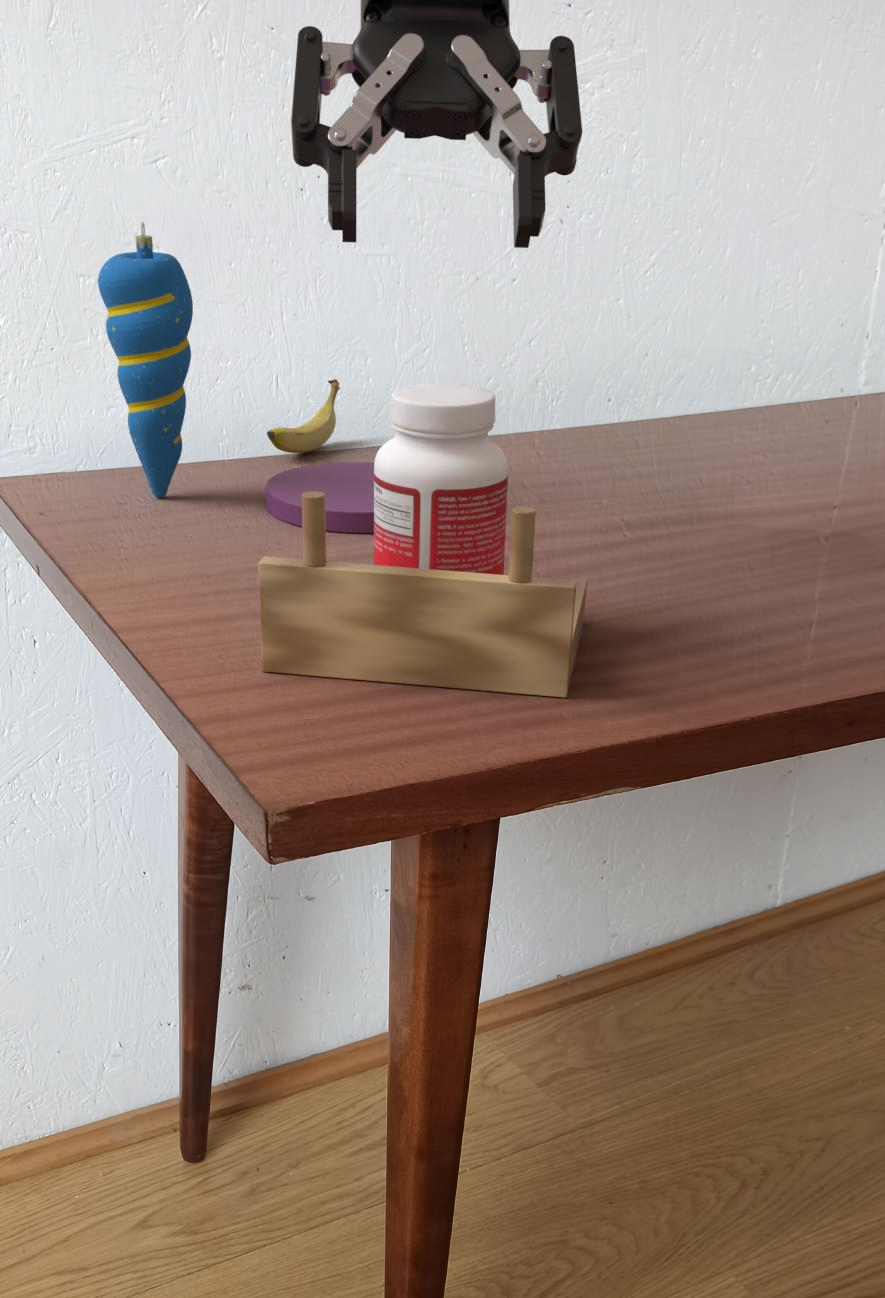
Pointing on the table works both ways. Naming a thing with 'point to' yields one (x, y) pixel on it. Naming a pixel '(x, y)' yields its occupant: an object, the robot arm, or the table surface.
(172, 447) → the ornament
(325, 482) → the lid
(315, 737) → the table surface
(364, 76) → the robot arm
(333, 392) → the banana
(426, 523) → the pill bottle
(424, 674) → the rack
